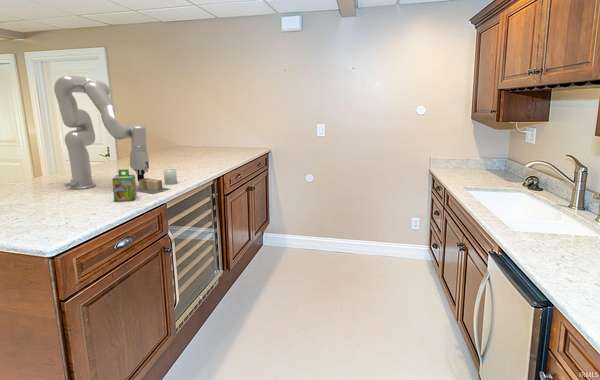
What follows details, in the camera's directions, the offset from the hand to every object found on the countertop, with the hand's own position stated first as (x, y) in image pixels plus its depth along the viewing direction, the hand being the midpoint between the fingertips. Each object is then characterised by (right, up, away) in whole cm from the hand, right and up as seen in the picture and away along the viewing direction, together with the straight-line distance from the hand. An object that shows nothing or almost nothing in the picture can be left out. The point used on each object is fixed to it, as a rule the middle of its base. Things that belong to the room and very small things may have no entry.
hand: (140, 181), depth 208 cm
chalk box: (+2, -10, -22) cm, 24 cm away
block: (+1, -1, 0) cm, 2 cm away
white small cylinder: (+12, -1, +12) cm, 18 cm away
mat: (+8, -5, -4) cm, 10 cm away
